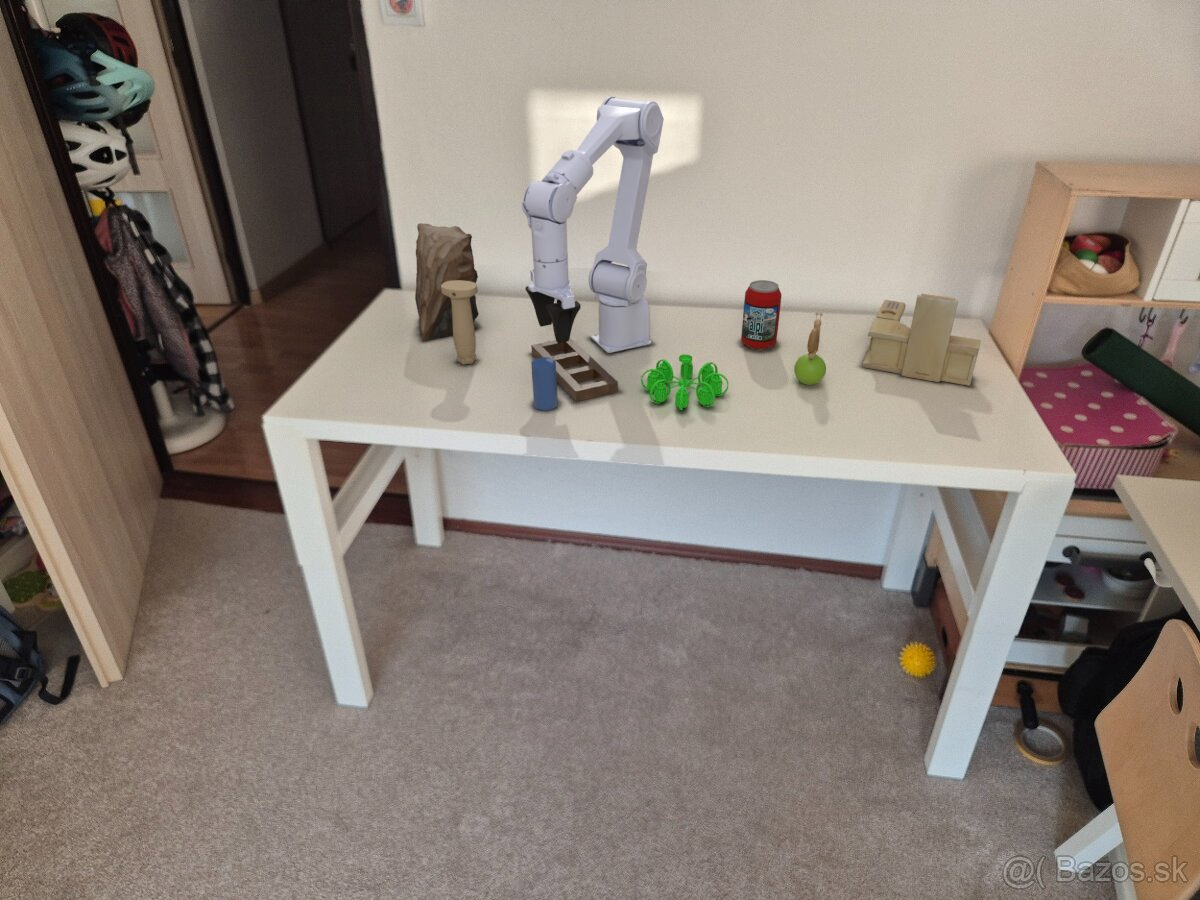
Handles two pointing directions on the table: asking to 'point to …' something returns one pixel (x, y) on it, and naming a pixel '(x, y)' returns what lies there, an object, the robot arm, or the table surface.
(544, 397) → the peg
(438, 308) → the brown rock
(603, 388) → the peg board
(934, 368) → the toy kitchen set
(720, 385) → the chandelier
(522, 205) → the robot arm
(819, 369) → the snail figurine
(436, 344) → the table surface
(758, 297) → the beverage can
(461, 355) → the handle
